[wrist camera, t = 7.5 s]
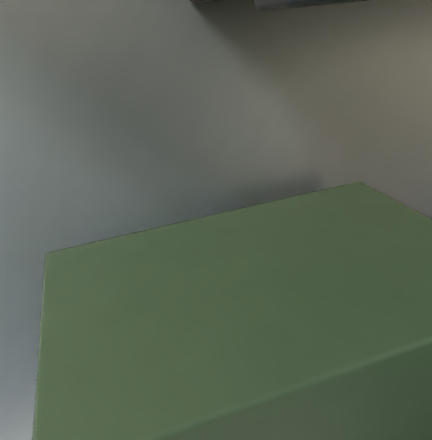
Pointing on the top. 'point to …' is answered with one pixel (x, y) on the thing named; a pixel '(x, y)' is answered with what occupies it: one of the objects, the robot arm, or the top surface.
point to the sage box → (244, 326)
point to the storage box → (289, 3)
